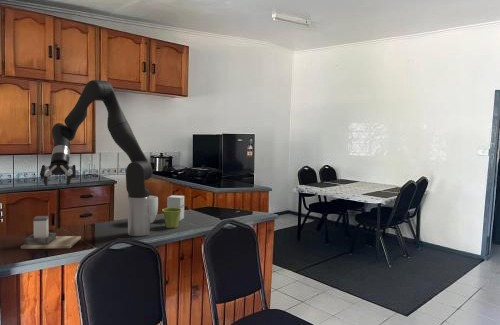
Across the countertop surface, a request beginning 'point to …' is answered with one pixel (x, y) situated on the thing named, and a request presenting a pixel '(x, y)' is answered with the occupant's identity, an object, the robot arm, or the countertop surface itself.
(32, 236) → the board
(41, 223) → the block
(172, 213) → the plant pot
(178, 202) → the supplement box
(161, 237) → the countertop surface
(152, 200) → the mug
